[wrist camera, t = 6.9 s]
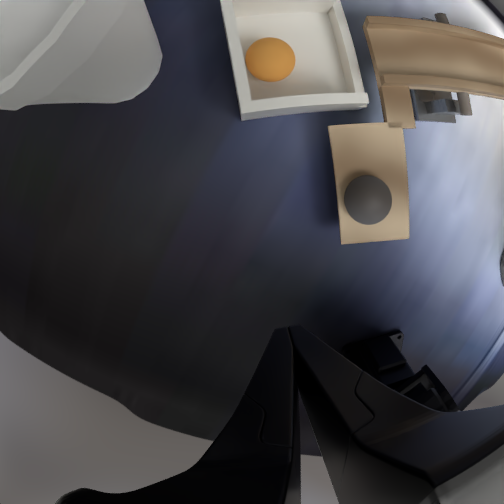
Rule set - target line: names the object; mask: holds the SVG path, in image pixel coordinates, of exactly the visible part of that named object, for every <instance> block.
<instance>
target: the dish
mask: <svg viewBox="0 0 504 504" xmlns="http://www.w3.org/2000/svg"><path fill="white" fill-rule="evenodd" d="M220 5H221V12H222V18H223V23H224V28H225V34H226V39H227V44H228V50H229V55H230V60H231V66H232V71H233V77H234V82H235V88H236V93H237V99H238V104H239V110H240V116H241V121H244V120H251V119H257V118H264V117H272V116H280V115H289V114H299V113H310V112H324V111H342V110H359V109H362V108H365V107H367V104H369V100H368V94H367V93H364V88H363V83H362V78H361V73H360V69H359V65H358V61H357V57H356V53H355V49H354V45H353V41H352V38H351V34H350V31H349V27H348V24H347V21H346V17H345V14H344V11H343V8H342V5H341V2H340V0H220ZM267 37H272V38H278V39H281V40H283V41H284V42H286V43H287V44H288V45H289V46H290V47H291V48H292V50H293V51H294V54H295V60H296V61H295V66H294V69H293V71H292V72H291V73H290V75H288V76H287V77H286V78H284V79H282V80H280V81H276V82H266V81H262V80H259V79H257V78H256V77H254V76H253V75H252V74H251V73H250V72H249V70H248V68H247V66H246V62H245V56H246V52H247V50H248V48H249V47H250V46H251V45H252V44H253V43H254V42H255V41H257V40H259V39H262V38H267Z"/></svg>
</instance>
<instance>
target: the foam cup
mask: <svg viewBox="0 0 504 504" xmlns="http://www.w3.org/2000/svg"><path fill="white" fill-rule="evenodd" d="M162 56H163V55H162V52H161V48H160V45H159V42H158V38H157V35H156V33H155V30H154V27H153V24H152V22H151V19H150V16H149V13H148V11H147V8H146V5H145V2H144V0H0V109H1V110H18V109H20V108H22V107H24V106H26V105H35V104H52V103H118V102H122V101H127V100H131V99H133V98H134V97H136V96H137V95H138V94H140V93H141V92H143V91H144V90H146V89H147V88H148V87H149V85H150V84H151V83H152V81H153V80H154V78H155V77H156V76H157V74H158V73H159V69H160V65H161V60H162Z"/></svg>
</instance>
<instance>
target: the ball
mask: <svg viewBox="0 0 504 504" xmlns="http://www.w3.org/2000/svg"><path fill="white" fill-rule="evenodd" d="M295 61H296V60H295V54H294V51H293V50H292V48H291V47H290V46H289V45H288V44H287V43H286V42H284V41H283V40H281V39H278V38H272V37H267V38H262V39H259V40H257V41H255V42H254V43H253V44H252V45H251V46H250V47H249V48H248V50H247V52H246V56H245V62H246V66H247V68H248V70H249V72H250V73H251V74H252V75H253V76H254V77H256V78H257V79H259V80H262V81H266V82H276V81H280V80H282V79H284V78H286V77H287V76H288V75H290V73H291V72H292V71H293V69H294V66H295Z"/></svg>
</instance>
